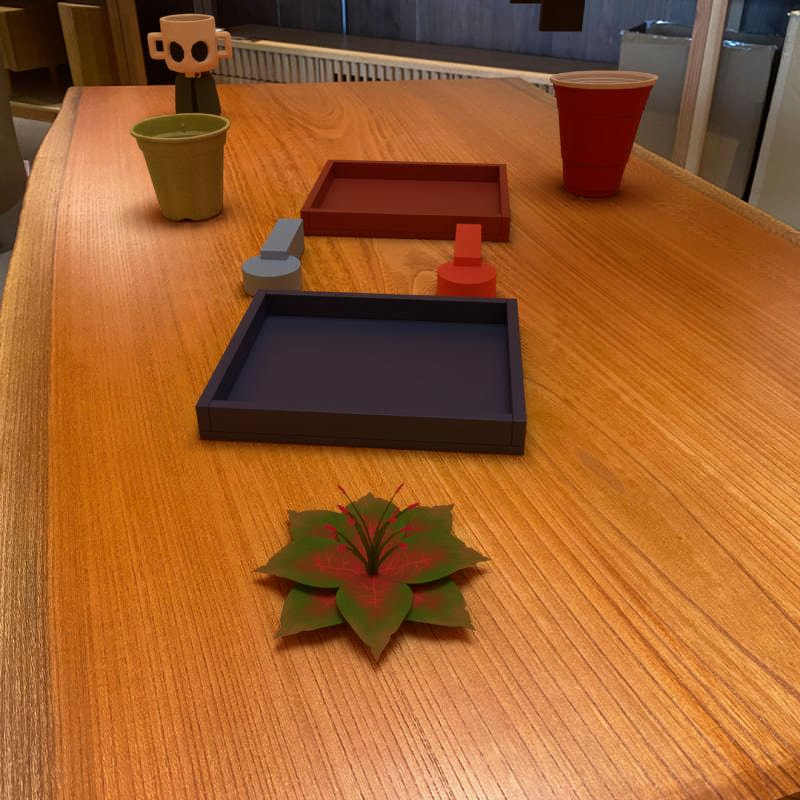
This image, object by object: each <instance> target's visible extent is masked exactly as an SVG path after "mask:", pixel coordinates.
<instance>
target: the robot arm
mask: <svg viewBox="0 0 800 800" xmlns="http://www.w3.org/2000/svg"><path fill="white" fill-rule="evenodd" d="M509 4H511V5H512V4H514V5H518V4H519V5H521V4H522V5H540V6H539V7H540V8H539V18H538V29H537V30H538V31H539V32H541V33H543V32H546V33H548V32H549V33H552V32H555V33H557V32H559V33H562V32H563V33H564V32H565V33H568V32H569V33H582V32H583V25H584V15H585V9H586V0H509Z"/></svg>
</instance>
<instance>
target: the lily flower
mask: <svg viewBox="0 0 800 800" xmlns="http://www.w3.org/2000/svg"><path fill="white" fill-rule="evenodd" d="M369 478H372V477H371V476H370V477H369ZM404 486H405V484H404V482H402V483H400V485H399V486H398V487H397V489H395V493H394V494H393V496H392V497H391V499H390V500H387V499H385V498H382V497H375V495H374V494H373V493H372V492H371V491H369V492H368V493H366V495H363V496H361V497H359V498H358V500H354V501H352V500H351V498H350V496H349V495H348V494H347V492H346V491H345V489H344V488H343V487H342V486H341V485H340V484H337V488H338V489H339V490H340V491H341V492H342V494H343V495H344V496H346V497H347V499H348V501H349V502H350V503H348V504H347V505H345V506H343V505H342V504H336V505H335V507H336V508H337V507H338V510H340V511H341V512H337V511H333V510H328V509H306V510H302V511H299V512H298V511H296V510H291V509H285V510H286V514H287V515H288V517H287V518H288V522H289V523H290V525H289V531H290V535H291V538H292V541H290V542H288V543H287V544H285V545H284V546H283V547H282V548H281V549H279V550H278V551H277V552H276V553H274V554H273V555H272V556H271V557H269V560H268V561H267V562H266V564H265V565H260V566H259V567H257V568H256V569H253V570H251V573H260V574H265V575H275V577H279V578H285V579H289V580H291V581H294V582H296V583H297V584H296V585H294V586H293V588H291V589H290V591H289V592H288V594H287V596H286V597H285V600H284V603H283V606H282V608H281V609H282V610H281V613H280V618H279V622H280V628H278V629H277V631H276V633H275V635H274V636H273V638H272V640H277V639H279V638H282V637H287V636H292V635H295V634H300V633H301V632H303V631H305V632H310V631H314V630H318V629H322V628H327V627H332V626H336V625H339V624H342V623H345V622H347V623H348V624H349V626H350V627H351V629H352V630H353V631H354V633H356V635H357V636H358V638H359V639H360V640H361V641H362V642H363V643H364V644H366V646H368V647H369V648H370V652H371V654H372V656H373V657H374V659H375V662H378V661H379V659H380V657H381V654H382V652H383V651H384V650H385V648H386V646H387V645H388V643H389V642H390V641H391V635H394V634H396V632H397V631H398V630H399V628H400V626H401V625H402V623H403V621H404V620H406V621H411V622H418V623H426V624H431V625H436V626H437V625H438V626H444V627H452V628H454V627H462V629H466V630H469V631H470V630H471V631H475V632H477V629H476V627H475V626H474V625H473V623H472V619H471V616H470V613H469V612H470V611H468V609H467V610H466V606H467V603H466V600H465V597H464V595H463V593H462V591H461V589H460V588H459V586H458V585H457V584H456V582H454V581H453V580H452V579H451V578H449V577H448V576H449V575H452V574H453V573H456V572H458V571H459V570H463V569H466V568H470V567H472V566H475V565H477V564H478V563H480V562H481V563H483V562H489V561H493V559H492V558H490V557H488V556H486V555H483V554H482V553H480V552H479V551H477V550H476V549H475V548H473V547H469V546H467V545H466V542H464V541H463V540H461V539H460V538H458V537H457V536H454V535H453V534H451V530H452V527H453V513H452V512H451V511H453V509H454V506H455V505H456V503H450V504H447V505H446V504H441V505H433V506H431V507H430V506H429V505H420V502H414V503H413V504H412V503H411V504H410V505H408V506H407V507H406V508H404V509H403V510H400V507H398V506H397V505H396V504H395V503H394V502H393V500H394V498H395V496H396V495H397V494H398V493H399V491H400V490H401V489H402V488H403V487H404Z"/></svg>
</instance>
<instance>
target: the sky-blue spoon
mask: <svg viewBox="0 0 800 800" xmlns="http://www.w3.org/2000/svg"><path fill="white" fill-rule="evenodd" d="M305 248H306V245H305V235H304V229H303V219H301V218H281V217H280V218H278V220H277V221H276V222H275V224H274V226H273V228H272V230H271V231H270V233H269V235H268V236H267V238H266V240H265V242H264V243H263V245H262V246H261V248H260V250H259V251H260V252H259V253H260V254H258V255H255V256H252V257H249V258H248V259H246V260H245V261H244V262H243V263H242V265H241V273H242V281H243V283H242V284H243V289H244V291H245V293H246V294H247V295H248V296H251V297H253V298H254V296H255V294H256V292H257V290H258V289H267V290H269V289H270V290H297V291H301V290H302V287H303V277H302V262H301V260H300V259H301V257H302V255H303V253H304V250H305Z"/></svg>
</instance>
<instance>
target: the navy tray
mask: <svg viewBox="0 0 800 800" xmlns="http://www.w3.org/2000/svg"><path fill="white" fill-rule="evenodd" d="M523 368H524V367H523V356H522V343H521V330H520V317H519V305H518V299H517V298H516V297H515V298H514V297H513V298H512V297H507V298H506V297H494V298H490V297H462V296H437V295H431V294H405V293H404V294H403V293H402V294H401V293H378V292H377V293H375V292H350V291H349V292H348V291H324V290H323V291H321V290H299V291H297V290H270V289H269V290H267V289H258V290H257V292H256V294H255V296H254V297H253V298H252V300H251V302H250V303H249V304H248V307H247V309H246V311H245V313H244V314H243V316H242V318H241V320H240V322H239V324H238V326H237V328H236V329H235V331H234V333H233V335H232V337H231V339H230V340H229V343H228V344H227V346H226V348H225V350H224V352H223V354H222V356H221V358H220V359H219V361H218V363H217V364H216V367H215V369H214V370H213V372H212V374H211V376H210V378H209V379H208V381H207V383H206V385H205V387H204V389H203V390H202V393H201V395H200V396H199V398H198V400H197V402H196V404H195V405H194V408H195V414H196V420H197V421H196V422H197V428H198V435H199V439H200V440H212V441H213V440H215V441H216V440H217V441H234V442H235V441H236V442H254V443H256V442H257V443H274V444H275V443H277V444H293V445H294V444H297V445H316V446H317V445H319V446H335V447H355V448H356V447H357V448H375V449H376V448H378V449H397V450H419V451H436V452H438V451H439V452H457V453H458V452H459V453H475V454H476V453H478V454H499V455H500V454H501V455H521V456H523V455H524V454H525V446H526V436H527V425H528V417H527V406H526V405H527V404H526V393H525V380H524V369H523Z"/></svg>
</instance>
